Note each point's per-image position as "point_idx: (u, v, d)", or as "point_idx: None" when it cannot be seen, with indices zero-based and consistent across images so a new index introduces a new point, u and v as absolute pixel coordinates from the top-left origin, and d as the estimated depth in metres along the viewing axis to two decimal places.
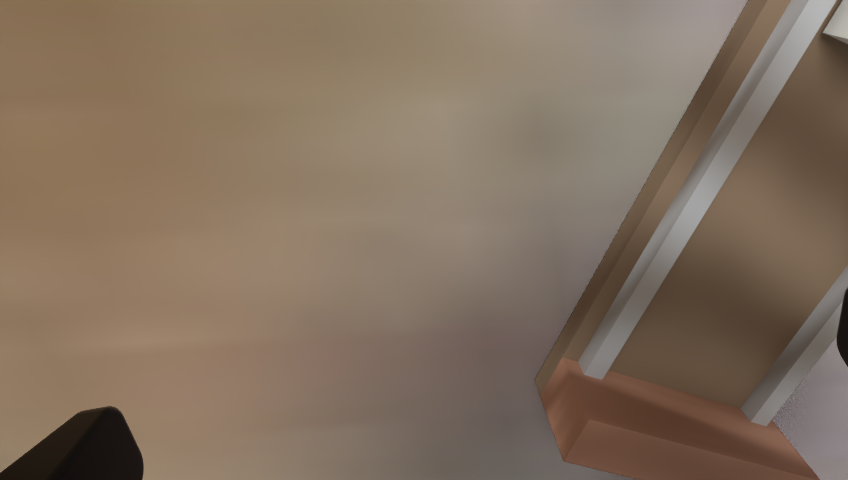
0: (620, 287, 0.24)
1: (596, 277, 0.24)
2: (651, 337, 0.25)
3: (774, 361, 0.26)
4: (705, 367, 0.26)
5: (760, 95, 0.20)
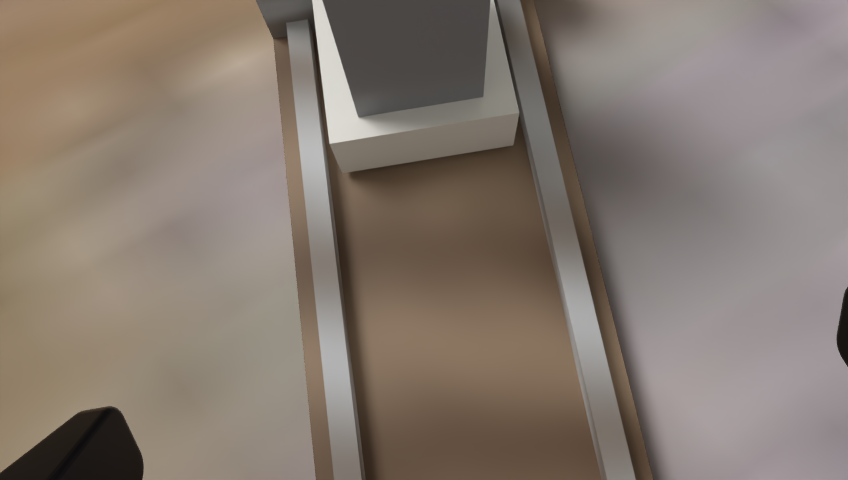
0: None
1: None
2: None
3: None
4: None
5: (316, 237, 0.21)
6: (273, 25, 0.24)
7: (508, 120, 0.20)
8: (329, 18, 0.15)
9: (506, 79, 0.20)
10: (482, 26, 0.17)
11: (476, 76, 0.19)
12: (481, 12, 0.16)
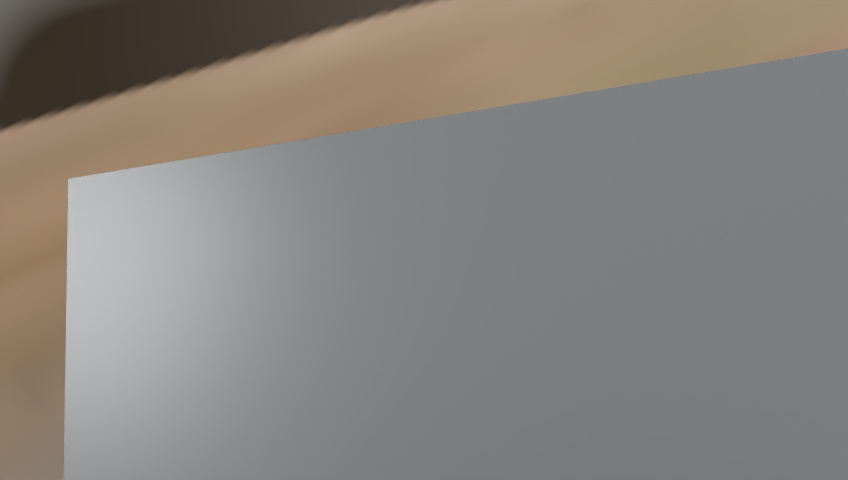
0: None
1: None
2: None
3: None
4: None
5: None
6: None
7: None
8: None
9: None
10: None
11: None
12: None
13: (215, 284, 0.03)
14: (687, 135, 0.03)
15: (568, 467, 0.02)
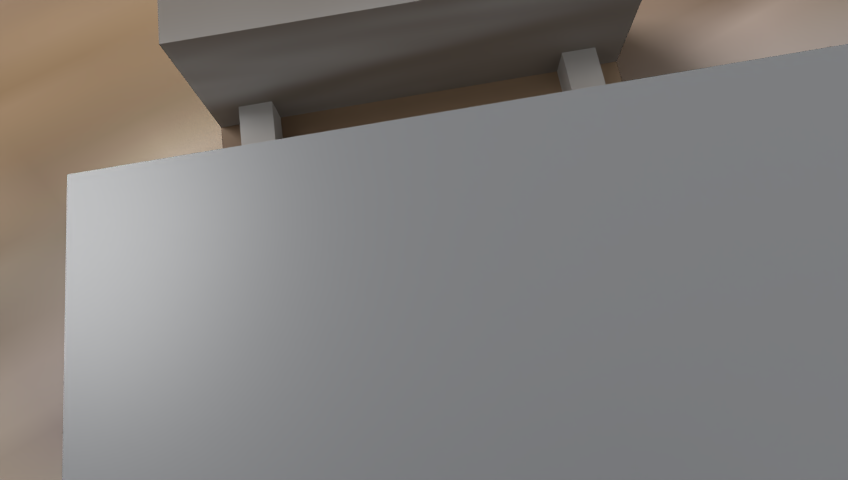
0: None
1: None
2: None
3: None
4: None
5: None
6: (218, 110, 0.15)
7: None
8: None
9: None
10: None
11: None
12: None
13: (214, 280, 0.03)
14: (687, 129, 0.03)
15: (566, 462, 0.02)
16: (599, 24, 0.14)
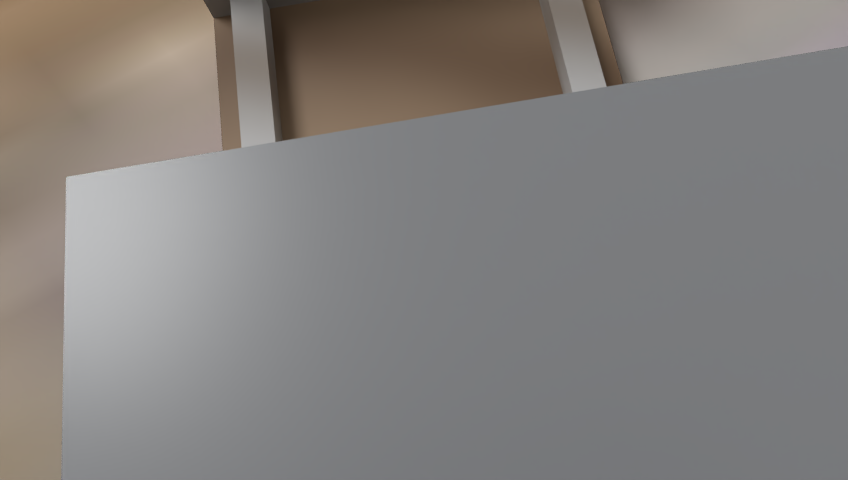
0: None
1: None
2: None
3: None
4: None
5: None
6: None
7: None
8: None
9: None
10: None
11: None
12: None
13: (214, 283, 0.03)
14: (688, 133, 0.03)
15: (571, 468, 0.02)
16: None
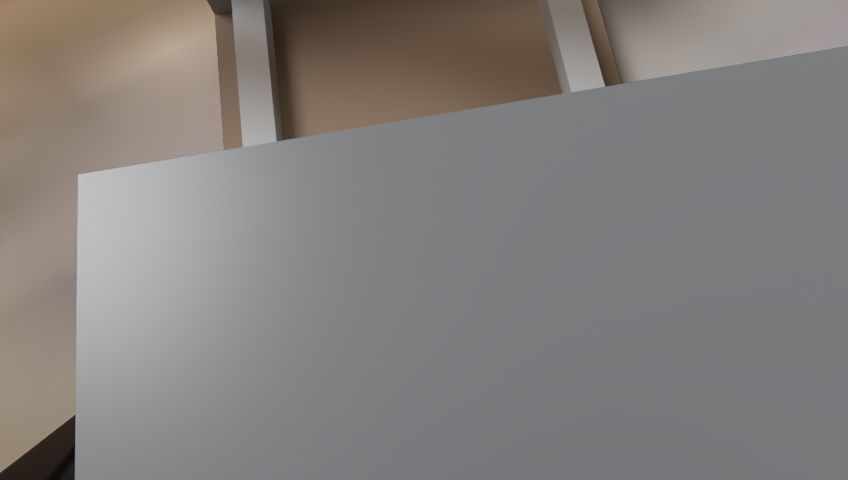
0: None
1: None
2: None
3: None
4: None
5: None
6: None
7: None
8: None
9: None
10: None
11: None
12: None
13: (221, 277, 0.03)
14: (678, 132, 0.03)
15: (563, 455, 0.02)
16: None
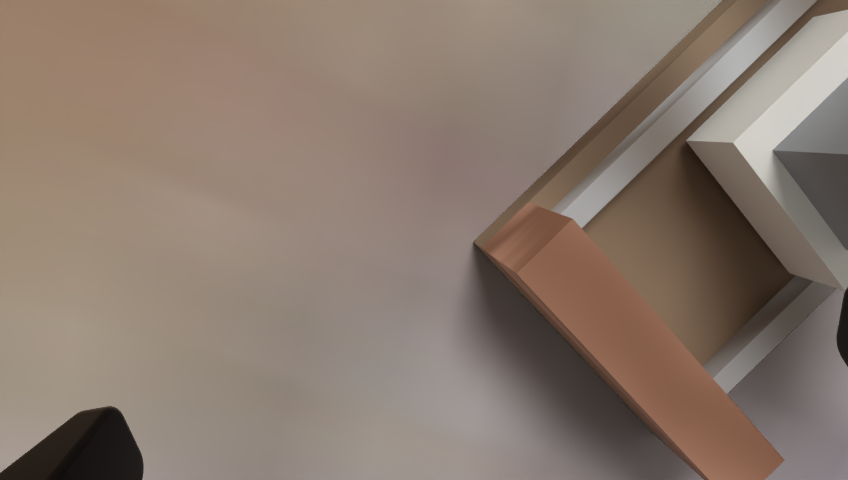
0: (623, 136, 0.20)
1: (595, 127, 0.20)
2: (631, 225, 0.20)
3: (739, 328, 0.22)
4: (670, 299, 0.21)
5: None
6: None
7: (829, 280, 0.19)
8: None
9: None
10: None
11: None
12: None
13: None
14: None
15: None
16: None
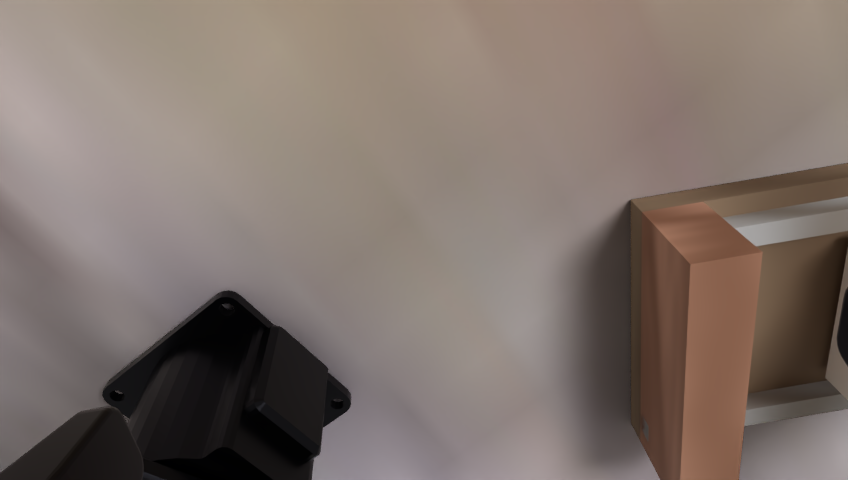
0: (809, 201, 0.21)
1: (792, 176, 0.21)
2: None
3: (757, 391, 0.24)
4: None
5: None
6: None
7: None
8: None
9: None
10: None
11: None
12: None
13: None
14: None
15: None
16: None
